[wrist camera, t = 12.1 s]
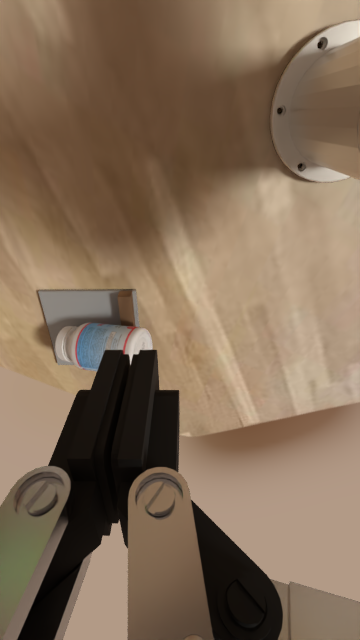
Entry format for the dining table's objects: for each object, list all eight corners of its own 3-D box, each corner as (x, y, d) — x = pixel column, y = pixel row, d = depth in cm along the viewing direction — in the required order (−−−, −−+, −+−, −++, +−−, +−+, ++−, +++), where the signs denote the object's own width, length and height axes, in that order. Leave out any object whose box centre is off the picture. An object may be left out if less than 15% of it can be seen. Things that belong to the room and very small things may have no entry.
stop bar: (132, 289, 42) (130, 296, 40) (139, 362, 48) (138, 371, 46) (120, 289, 42) (117, 296, 40) (129, 362, 48) (127, 371, 46)
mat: (135, 289, 42) (135, 291, 41) (142, 362, 48) (142, 364, 47) (39, 289, 42) (38, 291, 41) (59, 362, 48) (58, 364, 48)
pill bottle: (144, 317, 39) (66, 310, 42) (126, 361, 35) (42, 349, 39) (157, 346, 43) (86, 337, 47) (142, 387, 40) (66, 374, 44)
